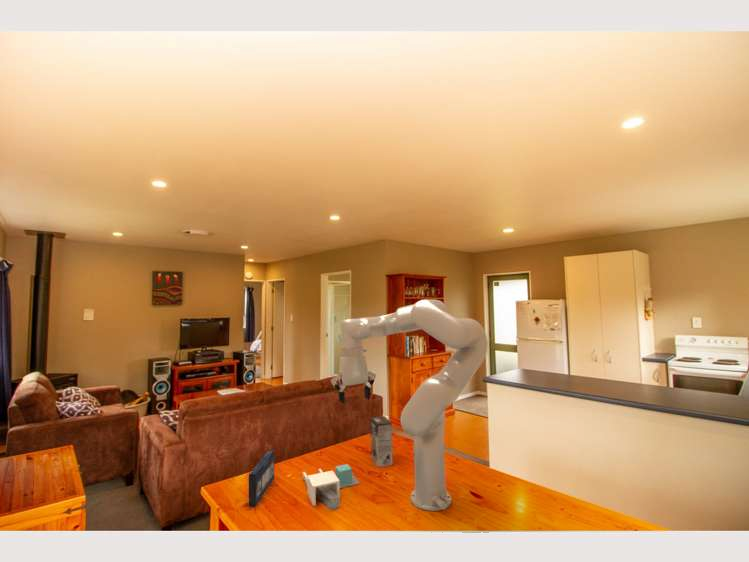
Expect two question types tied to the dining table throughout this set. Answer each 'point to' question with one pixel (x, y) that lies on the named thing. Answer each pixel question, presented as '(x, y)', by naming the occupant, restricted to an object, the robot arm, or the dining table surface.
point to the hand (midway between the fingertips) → (355, 400)
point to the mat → (354, 482)
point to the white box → (321, 483)
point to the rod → (328, 497)
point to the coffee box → (381, 441)
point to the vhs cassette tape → (261, 478)
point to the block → (344, 474)
